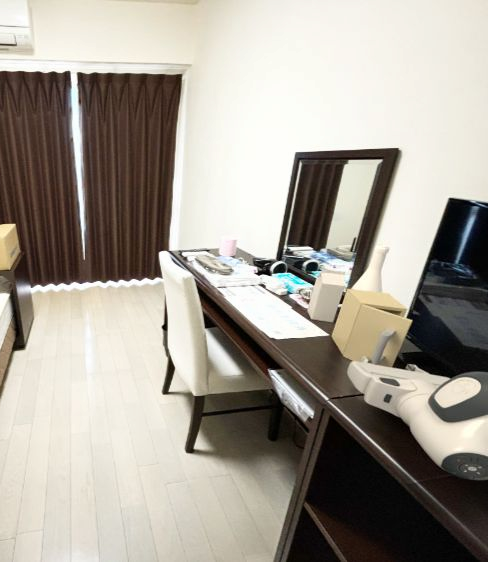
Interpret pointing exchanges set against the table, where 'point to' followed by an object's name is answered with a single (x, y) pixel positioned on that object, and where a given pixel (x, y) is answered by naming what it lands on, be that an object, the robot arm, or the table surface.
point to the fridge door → (377, 336)
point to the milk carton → (326, 295)
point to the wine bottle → (373, 272)
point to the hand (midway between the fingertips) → (386, 362)
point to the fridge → (352, 309)
